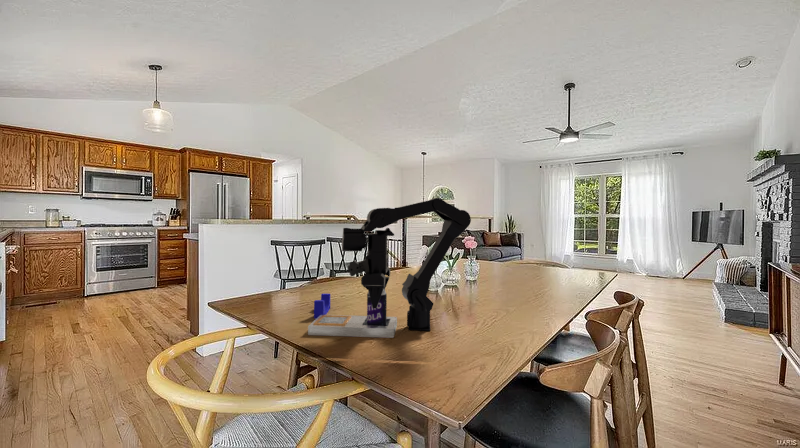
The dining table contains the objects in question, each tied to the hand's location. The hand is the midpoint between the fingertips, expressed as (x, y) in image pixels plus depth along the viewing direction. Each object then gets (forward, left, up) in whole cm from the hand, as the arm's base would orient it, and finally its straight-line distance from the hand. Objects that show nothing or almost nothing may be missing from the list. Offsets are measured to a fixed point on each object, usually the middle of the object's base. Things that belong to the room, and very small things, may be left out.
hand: (376, 304), depth 101 cm
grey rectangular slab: (+6, 0, -8) cm, 10 cm away
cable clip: (+21, -16, -8) cm, 28 cm away
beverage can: (0, 0, -8) cm, 8 cm away
